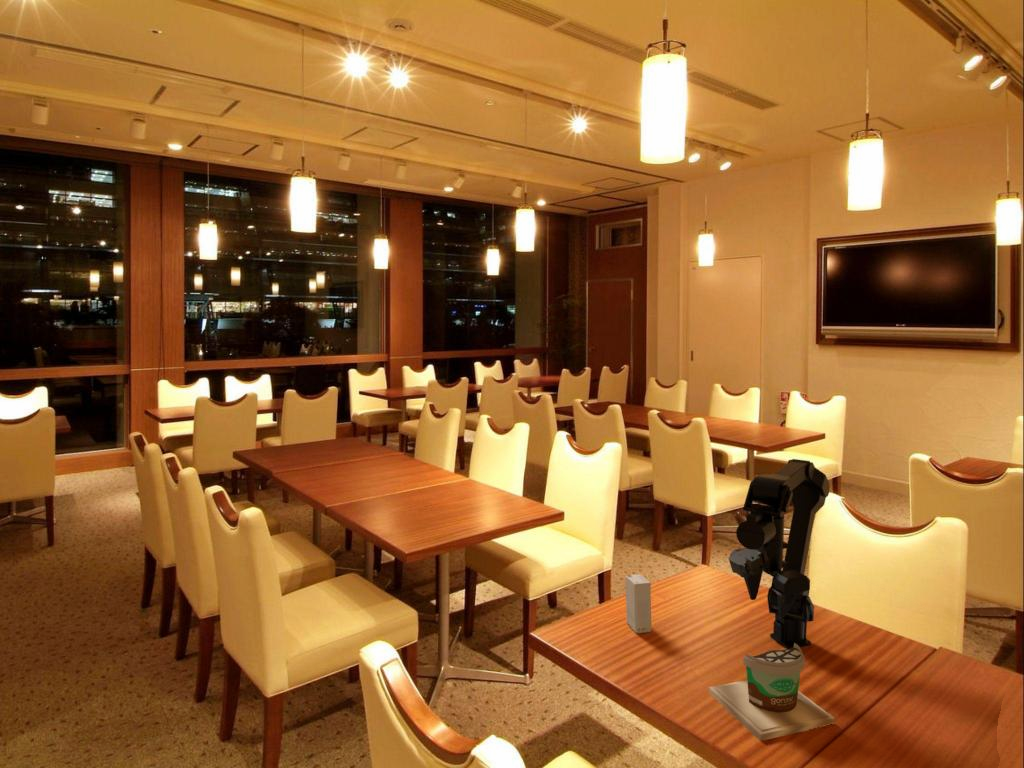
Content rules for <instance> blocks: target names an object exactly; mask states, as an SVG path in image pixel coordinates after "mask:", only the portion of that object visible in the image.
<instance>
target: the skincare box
mask: <svg viewBox="0 0 1024 768" xmlns="http://www.w3.org/2000/svg"><path fill="white" fill-rule="evenodd" d="M651 584H652V583H651V582H650V581H649V580H648V579H647V578H645V577H644V576H643V575H642V574H640V573H639V574H630V575H625V605H626V607H625V609H626V610H625V611H626V612H625V613H626V614H625V615H626V624H627V625H628V624H629V625H628V626H629V627H630V628H631V629H632V630H633V632H634V633H635V634H643V633H651V632H652V599H651V597H652V595H651V594H652V593H651V591H652V590H651Z"/></svg>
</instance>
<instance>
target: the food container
mask: <svg viewBox="0 0 1024 768" xmlns="http://www.w3.org/2000/svg"><path fill="white" fill-rule="evenodd" d="M744 654H745V656H743V661H742V665H745V666H746V667H745V668H746V680H747V682H748V695H749V702H750V703H751V704H752V705H754V706H756V707H758V708H760V709H763V710H766V711H771V712H788V711H791V710H793V709H794V708H795V707H796V704H797V696H798V691H799V685H800V677H801V671H802V670H804V668H805V667H806V661H805V656H804V653H803V651H802V649H801V646H798V645H797V644H795V643H794V647H793V648H787V649H786V648H785V649H775V650H769V651H766V652H764V653H761V654H759V655H758V654H757V655H754V656H752V655H750V654H749V653H747V652H745V653H744Z"/></svg>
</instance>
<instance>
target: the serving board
mask: <svg viewBox="0 0 1024 768" xmlns="http://www.w3.org/2000/svg"><path fill="white" fill-rule="evenodd" d="M708 694H709V695H711V696H712V697H713V698H714V700H716V702H718V703H719V704H720V705H721V706H722V707H723V708H724V709H725V710H726V711H728V713H729V714H731V716H733V717H734V718H735V720H737V721H738V722H739V723H741V724H742V726H744V728H746V729H747V730H748V731H749V732H750V733H751V734H752V735H753V736H754V737H755V738H756V739H757V740H758V741H760V742H762V741H766V740H767V741H768V740H771V739H776V738H779V737H784V736H789V735H794V734H797V733H802V732H806V731H810V730H809V729H812V730H814V729H813V728H816V727H820V726H823V725H827V724H830V723H834V722H835V721H836V718H835V717H834V716H832V715H831V714H830V713H829V712H827V711H825V710H824V709H823V707H821V706H819V705H818V704H816V703H815V702H814V701H813V700H811V699H810V698H809V697H807V696H806V695H804V694H803V693H802V692H801V691H799V690H798V696H797V704H796V707H795V708H794V709H793V710H791V711H788V712H771V711H766V710H763V709H760V708H758V707H756V706H754V705H752V704H751V703H750V702H749V695H748V682H747V679H745V680H744V679H743V680H740V681H734V682H730V683H724V684H719V685H714V686H709V687H708ZM711 696H710V697H711ZM835 723H836V722H835ZM820 728H821V727H820ZM816 729H817V728H816Z"/></svg>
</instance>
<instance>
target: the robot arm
mask: <svg viewBox="0 0 1024 768" xmlns="http://www.w3.org/2000/svg"><path fill="white" fill-rule="evenodd" d="M749 483H750V484H749V487H748V490H747V493H746V496H745V497H746V498H745V500H744V503H743V508H742V511H743V512H750V513H748V514H746V516H745V517H746V519H745V520H743V521H742V522H741V523H739V525H738V526H737V528H736V531H735V533H736V538H737V541H738V542H739V544H740V545H741V546H742V547H744V548H737V549H733V550H732V551H731V553H730V555H729V556H728V561H729V565H730V568H731V570H732V573H734V574H737V575H738V576H739V577H740V578H743V580H744V583H745V585H746V588H747V589H746V590H747V592H748V596H749V599H750V600H751V601H755V600H756V599H757V597H758V594H759V590H760V585H761V581H762V576H763V573H766V574H767V575H769V576H771V577H772V578H771V579H772V580H771V586H770V587H769V589H768V592H767V596H766V597H767V598H766V599H767V605H768V612H769V614H774V620H773V630H772V631H773V632H772V633H770V634H769V636H770V637H771V638H772V639H774V640H775V641H777V642H778V643H779V644H781V645H782V646H784V647H786V648H787V649H790V648H794V643H795V644H797V645H798V646H799V647H802V646H803V647H804V646H808V645H812V641H811V640H809V639H808V638H807V625H808V623H809V622H813V621H814V619H815V618H814V617H815V605H814V604H813V601H812V599H811V597H810V590H811V579H810V578H809V577H808V576H807V575H806V574H805V572H806V568H807V567H806V566H807V561H808V556H809V550H810V544H811V538H812V532H813V526H814V521H815V516H816V514H817V513H818V512H819V511H820V510H821V509H822V508H823V507H824V506H825V503H826V499H827V498H828V496H829V493H830V490H831V489H830V482H829V480H828V477H827V474H825V472H823V471H821V470H820V469H818V468H817V467H816V466H815V464H814V462H812V461H810V460H805V459H798V458H792V459H789V460H788V461H787V463H786V464H785V465H784V466H782V467H781V468H780V469H778V470H777V471H775V472H774V473H771V474H769V473H767V474H765V473H764V474H763V473H762V474H758V475H756V476H755V477H753V480H751V481H750V482H749ZM790 505H792V507H793V510H792V511H793V512H792V517H791V521H790V522H791V523H790V528H789V534H788V539H787V542H786V541H784V540H785V539H784V535H785V513H787V514H788V510H789V508H790ZM784 549H785V555H784Z"/></svg>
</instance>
